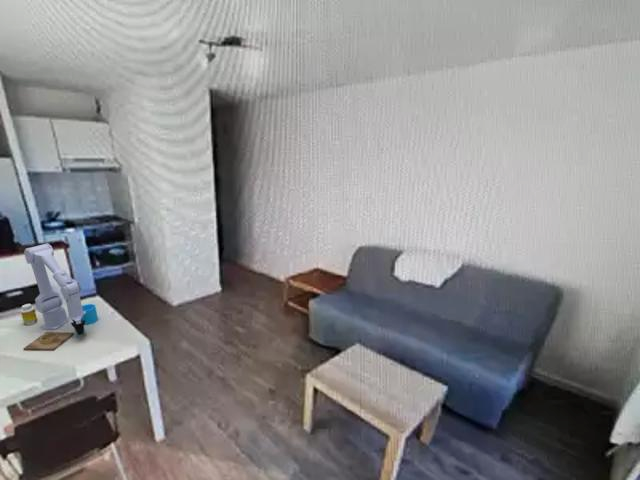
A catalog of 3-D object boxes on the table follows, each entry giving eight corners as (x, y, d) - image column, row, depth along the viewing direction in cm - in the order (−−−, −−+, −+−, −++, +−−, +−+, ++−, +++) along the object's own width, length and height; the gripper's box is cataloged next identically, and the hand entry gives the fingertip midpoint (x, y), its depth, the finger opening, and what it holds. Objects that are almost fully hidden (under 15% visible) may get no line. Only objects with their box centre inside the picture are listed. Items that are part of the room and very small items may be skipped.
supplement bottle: (37, 323, 186) (33, 305, 183) (24, 326, 183) (19, 309, 180) (37, 319, 190) (33, 301, 187) (24, 322, 187) (19, 305, 184)
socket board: (46, 333, 177) (46, 331, 177) (74, 334, 177) (73, 332, 176) (23, 350, 164) (23, 348, 163) (53, 350, 163) (53, 349, 163)
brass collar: (47, 336, 173) (47, 332, 173) (61, 336, 173) (60, 332, 172) (37, 344, 167) (36, 340, 166) (51, 344, 167) (50, 340, 166)
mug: (99, 321, 189) (96, 307, 186) (81, 327, 183) (78, 313, 181) (94, 313, 197) (91, 300, 195) (77, 318, 192) (74, 304, 189)
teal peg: (79, 333, 178) (76, 320, 176) (87, 333, 178) (84, 321, 176) (74, 337, 174) (71, 325, 172) (82, 337, 174) (79, 325, 172)
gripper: (86, 309, 168) (91, 334, 172) (82, 298, 179) (87, 322, 183) (68, 313, 164) (74, 339, 168) (65, 302, 174) (70, 326, 178)
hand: (79, 330), depth 175 cm, fingers open, 7 cm apart
